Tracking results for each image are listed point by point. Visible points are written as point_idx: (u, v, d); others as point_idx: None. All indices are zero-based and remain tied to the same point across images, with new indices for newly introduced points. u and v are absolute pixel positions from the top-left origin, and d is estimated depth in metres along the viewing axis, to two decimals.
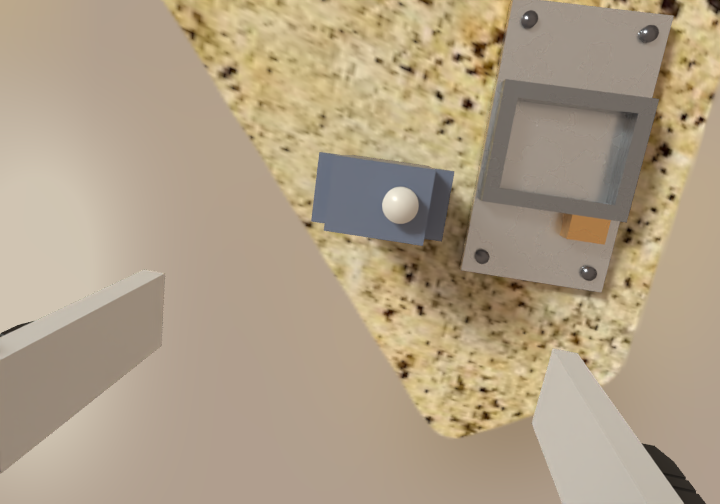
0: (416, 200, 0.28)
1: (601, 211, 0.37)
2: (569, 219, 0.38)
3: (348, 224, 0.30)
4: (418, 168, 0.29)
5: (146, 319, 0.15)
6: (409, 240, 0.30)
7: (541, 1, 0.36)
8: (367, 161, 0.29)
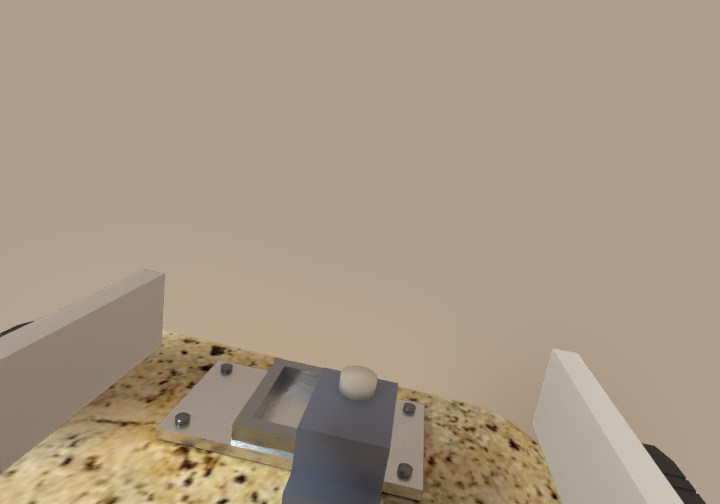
0: (354, 366, 0.29)
1: None
2: None
3: (381, 427, 0.25)
4: (321, 375, 0.29)
5: (146, 319, 0.15)
6: (394, 389, 0.29)
7: (170, 412, 0.40)
8: (309, 404, 0.26)
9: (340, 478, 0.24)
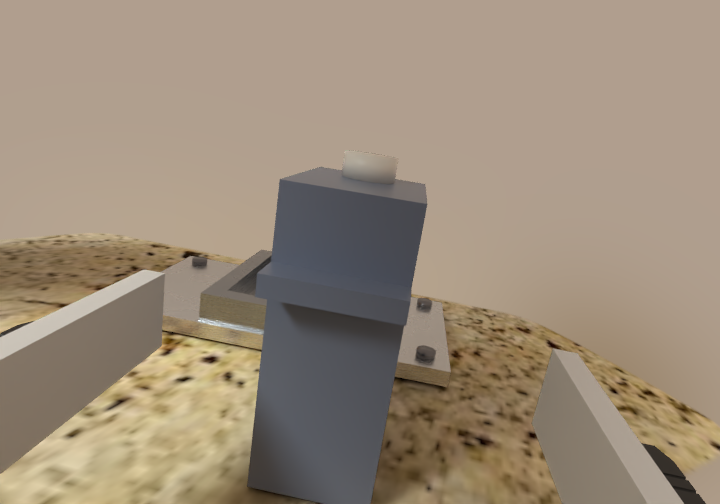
0: None
1: None
2: None
3: (409, 195, 0.16)
4: (317, 168, 0.20)
5: (146, 319, 0.15)
6: (420, 185, 0.20)
7: None
8: (299, 174, 0.17)
9: (348, 264, 0.16)
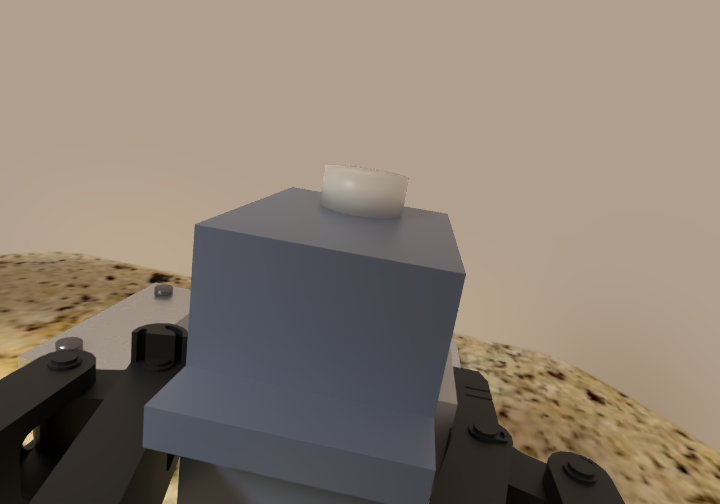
0: None
1: None
2: None
3: (429, 247, 0.09)
4: (285, 190, 0.13)
5: None
6: (441, 217, 0.13)
7: (53, 338, 0.25)
8: (245, 206, 0.10)
9: (319, 374, 0.09)
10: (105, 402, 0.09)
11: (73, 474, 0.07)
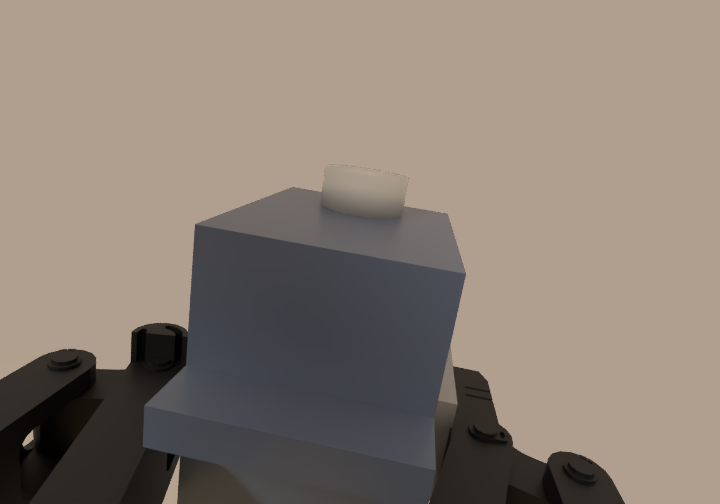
0: None
1: None
2: None
3: (429, 247, 0.09)
4: (285, 190, 0.13)
5: None
6: (441, 217, 0.13)
7: None
8: (245, 206, 0.10)
9: (320, 374, 0.09)
10: (105, 402, 0.09)
11: (73, 474, 0.07)
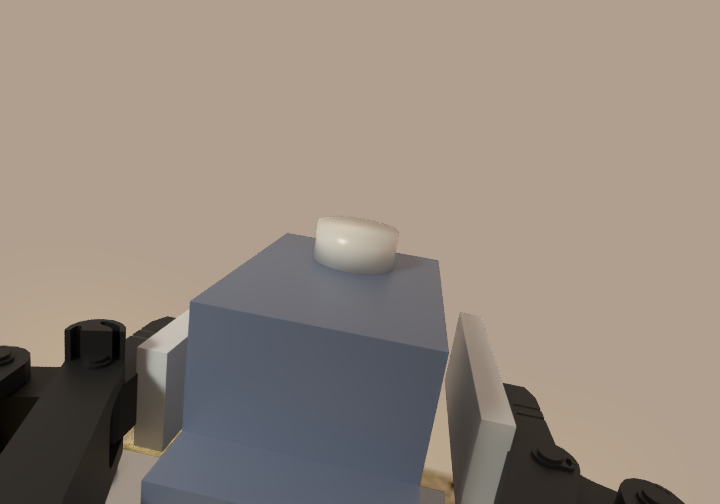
0: None
1: None
2: None
3: (416, 314, 0.10)
4: (279, 240, 0.14)
5: None
6: (432, 266, 0.14)
7: None
8: (239, 269, 0.11)
9: (310, 442, 0.09)
10: (39, 402, 0.09)
11: (9, 476, 0.07)
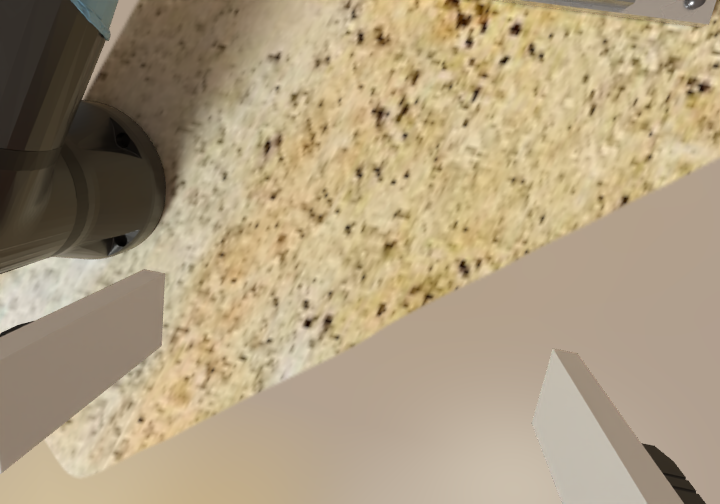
0: None
1: None
2: None
3: None
4: None
5: (146, 319, 0.15)
6: None
7: None
8: None
9: None
10: None
11: None
